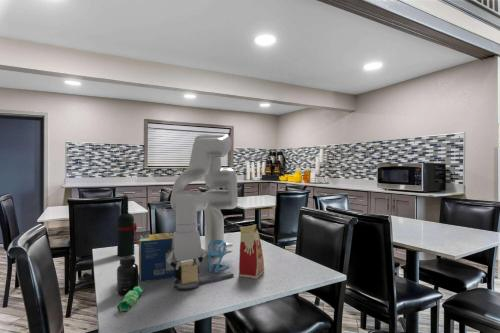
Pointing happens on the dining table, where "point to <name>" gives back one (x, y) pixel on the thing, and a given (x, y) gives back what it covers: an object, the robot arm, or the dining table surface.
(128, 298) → the candy
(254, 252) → the milk carton
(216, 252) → the chair
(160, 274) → the protein box
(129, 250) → the wine bottle
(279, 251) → the dining table surface
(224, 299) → the dining table surface
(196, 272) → the brown parcel carton
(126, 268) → the supplement bottle
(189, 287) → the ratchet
